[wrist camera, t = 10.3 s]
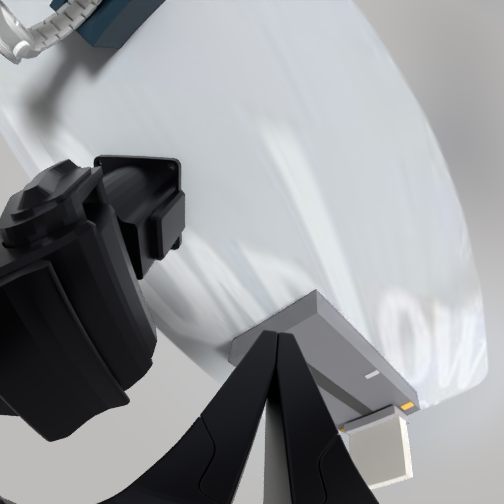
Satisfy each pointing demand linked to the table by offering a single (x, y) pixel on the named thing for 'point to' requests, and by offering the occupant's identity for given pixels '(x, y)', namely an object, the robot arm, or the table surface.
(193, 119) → the table surface
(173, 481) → the robot arm
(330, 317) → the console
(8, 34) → the watch
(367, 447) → the fader
